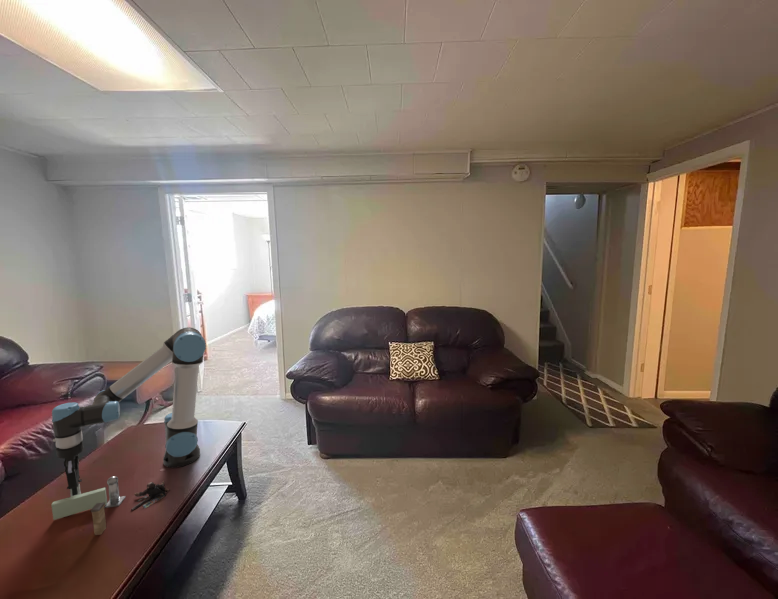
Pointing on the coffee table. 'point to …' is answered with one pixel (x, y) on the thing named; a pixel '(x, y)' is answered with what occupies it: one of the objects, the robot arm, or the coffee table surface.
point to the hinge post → (114, 493)
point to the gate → (78, 503)
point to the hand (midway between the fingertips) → (76, 500)
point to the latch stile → (99, 518)
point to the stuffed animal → (151, 494)
